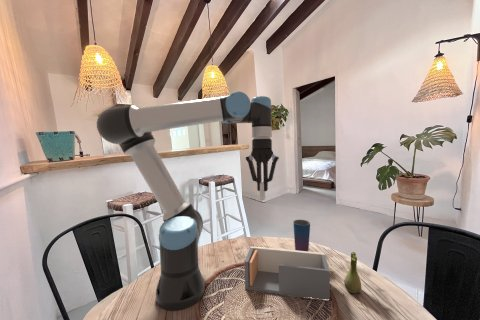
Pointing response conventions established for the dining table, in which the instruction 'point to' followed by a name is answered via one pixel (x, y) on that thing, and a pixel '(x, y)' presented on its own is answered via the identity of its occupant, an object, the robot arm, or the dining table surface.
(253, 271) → the box door
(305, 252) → the storage box
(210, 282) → the dining table surface
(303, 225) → the cup
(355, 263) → the fennel bulb
